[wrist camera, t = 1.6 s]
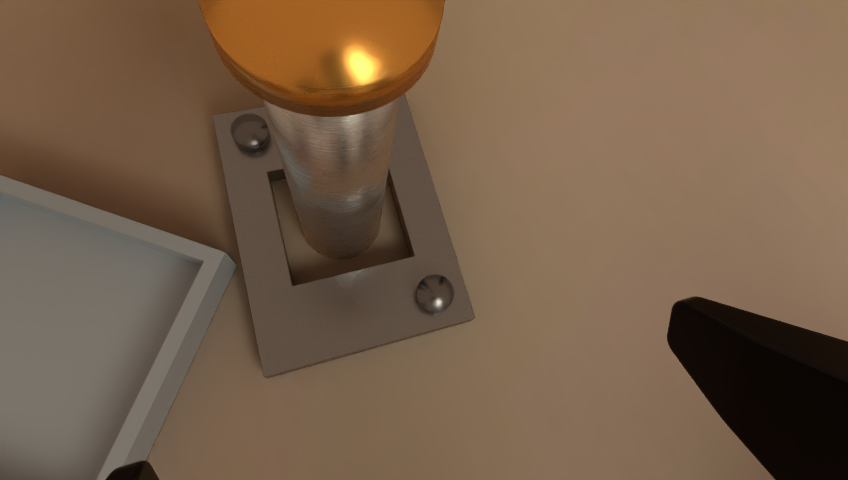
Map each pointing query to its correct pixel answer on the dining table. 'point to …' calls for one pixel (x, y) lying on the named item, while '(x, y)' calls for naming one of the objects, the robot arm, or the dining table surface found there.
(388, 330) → the plate
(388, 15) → the orange capped tube
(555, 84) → the dining table surface
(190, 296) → the tray
